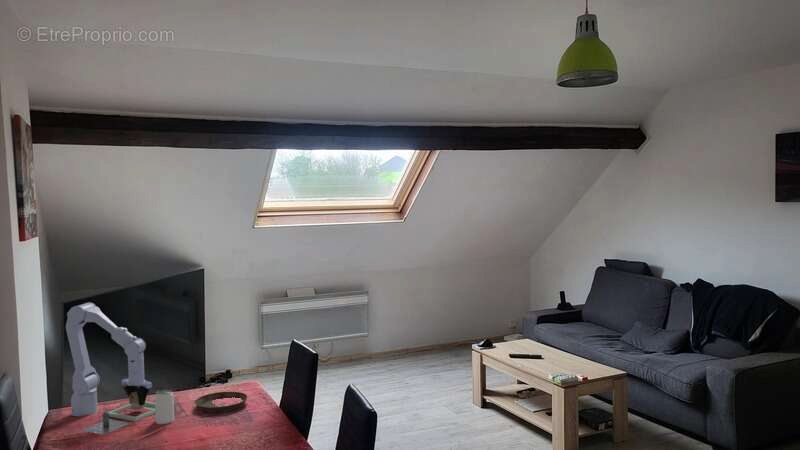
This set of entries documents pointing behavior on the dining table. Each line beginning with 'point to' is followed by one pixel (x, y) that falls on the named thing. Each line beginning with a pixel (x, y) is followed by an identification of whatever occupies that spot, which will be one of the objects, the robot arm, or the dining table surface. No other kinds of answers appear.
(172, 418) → the can
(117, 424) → the square base plate
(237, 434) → the dining table surface
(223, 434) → the dining table surface
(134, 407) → the sleeve
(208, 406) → the plant saucer
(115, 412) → the tray
